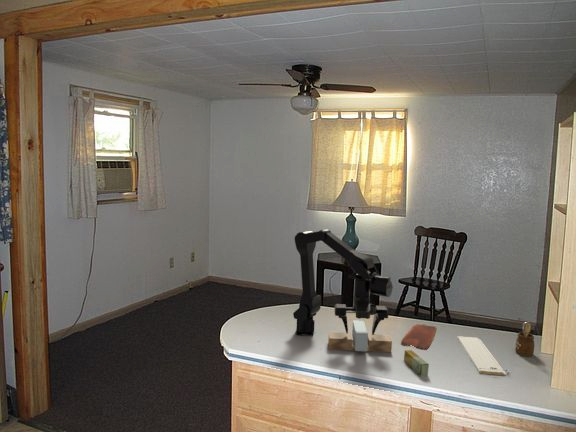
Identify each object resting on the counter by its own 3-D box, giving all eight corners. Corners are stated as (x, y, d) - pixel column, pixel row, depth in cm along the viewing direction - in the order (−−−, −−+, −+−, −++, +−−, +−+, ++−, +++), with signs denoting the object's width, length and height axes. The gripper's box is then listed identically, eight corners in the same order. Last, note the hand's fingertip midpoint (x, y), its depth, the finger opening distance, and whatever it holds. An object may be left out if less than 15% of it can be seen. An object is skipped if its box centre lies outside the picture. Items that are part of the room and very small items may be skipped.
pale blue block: (352, 335, 176) (352, 320, 175) (362, 336, 176) (363, 320, 175) (355, 350, 162) (356, 334, 162) (367, 351, 162) (367, 334, 161)
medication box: (428, 376, 148) (429, 364, 148) (420, 377, 148) (421, 364, 147) (410, 360, 160) (411, 349, 160) (403, 360, 159) (404, 349, 159)
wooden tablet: (427, 352, 169) (427, 347, 168) (399, 346, 173) (399, 341, 173) (439, 329, 192) (439, 325, 192) (414, 324, 197) (415, 320, 196)
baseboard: (483, 341, 180) (457, 339, 181) (484, 334, 180) (457, 332, 181) (511, 377, 150) (478, 374, 151) (512, 369, 150) (479, 366, 151)
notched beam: (328, 349, 167) (329, 338, 166) (328, 342, 173) (328, 332, 172) (391, 352, 166) (391, 341, 165) (388, 345, 172) (389, 335, 171)
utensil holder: (532, 351, 170) (535, 319, 169) (534, 358, 164) (537, 325, 163) (514, 349, 172) (517, 317, 171) (516, 355, 166) (519, 322, 165)
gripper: (336, 297, 159) (334, 341, 161) (392, 299, 158) (389, 344, 160) (335, 288, 170) (333, 329, 172) (387, 290, 169) (384, 332, 171)
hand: (359, 334), depth 169 cm, fingers open, 9 cm apart
